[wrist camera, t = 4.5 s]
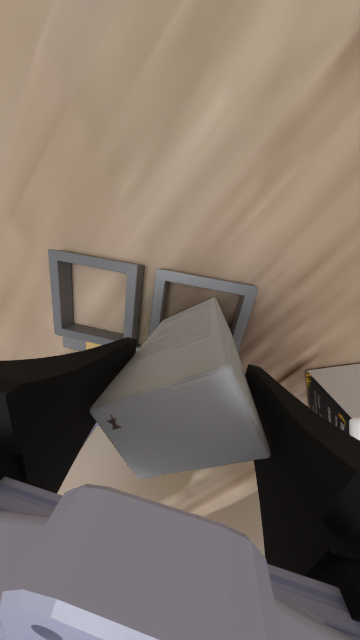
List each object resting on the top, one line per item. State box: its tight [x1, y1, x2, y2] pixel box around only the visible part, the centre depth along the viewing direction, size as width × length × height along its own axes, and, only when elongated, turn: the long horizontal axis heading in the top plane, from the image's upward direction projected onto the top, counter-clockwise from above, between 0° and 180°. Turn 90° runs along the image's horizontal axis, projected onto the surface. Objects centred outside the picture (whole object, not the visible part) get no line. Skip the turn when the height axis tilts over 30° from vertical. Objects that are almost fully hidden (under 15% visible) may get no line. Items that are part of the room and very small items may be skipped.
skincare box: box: [90, 297, 271, 479], centre depth 12 cm, size 6×4×12 cm
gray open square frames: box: [48, 249, 259, 352], centre depth 20 cm, size 12×22×2 cm, turn 80°
